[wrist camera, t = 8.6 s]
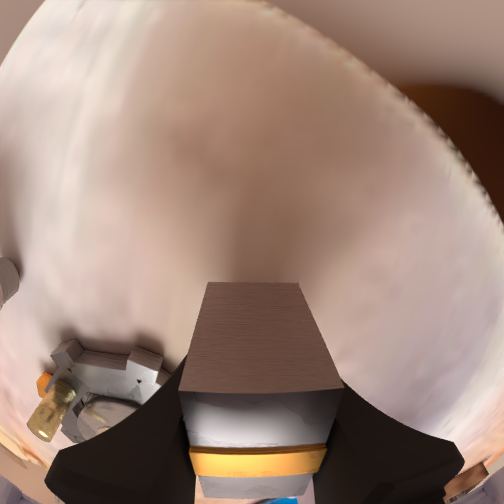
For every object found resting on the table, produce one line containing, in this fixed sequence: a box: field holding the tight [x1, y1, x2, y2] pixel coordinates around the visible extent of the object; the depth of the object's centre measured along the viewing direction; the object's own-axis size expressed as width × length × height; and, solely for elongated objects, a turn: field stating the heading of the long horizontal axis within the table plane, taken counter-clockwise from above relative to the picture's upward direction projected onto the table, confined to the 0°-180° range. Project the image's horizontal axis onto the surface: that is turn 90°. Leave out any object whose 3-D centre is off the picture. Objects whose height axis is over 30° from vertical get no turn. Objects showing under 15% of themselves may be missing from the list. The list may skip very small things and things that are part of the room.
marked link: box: [178, 282, 344, 499], centre depth 9 cm, size 4×6×6 cm, turn 179°
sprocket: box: [27, 339, 171, 443], centre depth 14 cm, size 15×15×6 cm
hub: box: [77, 393, 141, 440], centre depth 16 cm, size 8×8×3 cm
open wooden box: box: [443, 462, 489, 501], centre depth 28 cm, size 14×16×4 cm
